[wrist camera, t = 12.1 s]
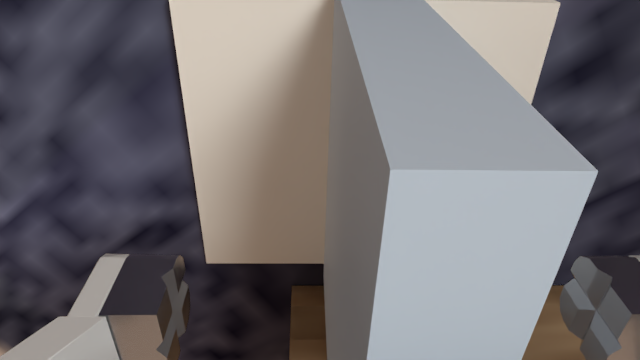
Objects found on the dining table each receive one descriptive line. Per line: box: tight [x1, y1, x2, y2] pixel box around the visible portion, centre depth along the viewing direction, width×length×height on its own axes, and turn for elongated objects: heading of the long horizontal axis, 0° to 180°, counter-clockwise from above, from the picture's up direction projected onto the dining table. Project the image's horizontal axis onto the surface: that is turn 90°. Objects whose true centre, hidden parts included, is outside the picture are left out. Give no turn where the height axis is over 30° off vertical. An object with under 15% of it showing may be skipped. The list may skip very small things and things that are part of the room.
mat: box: [169, 0, 560, 264], centre depth 14 cm, size 9×10×1 cm
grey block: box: [323, 0, 598, 360], centre depth 10 cm, size 10×2×9 cm, turn 179°
